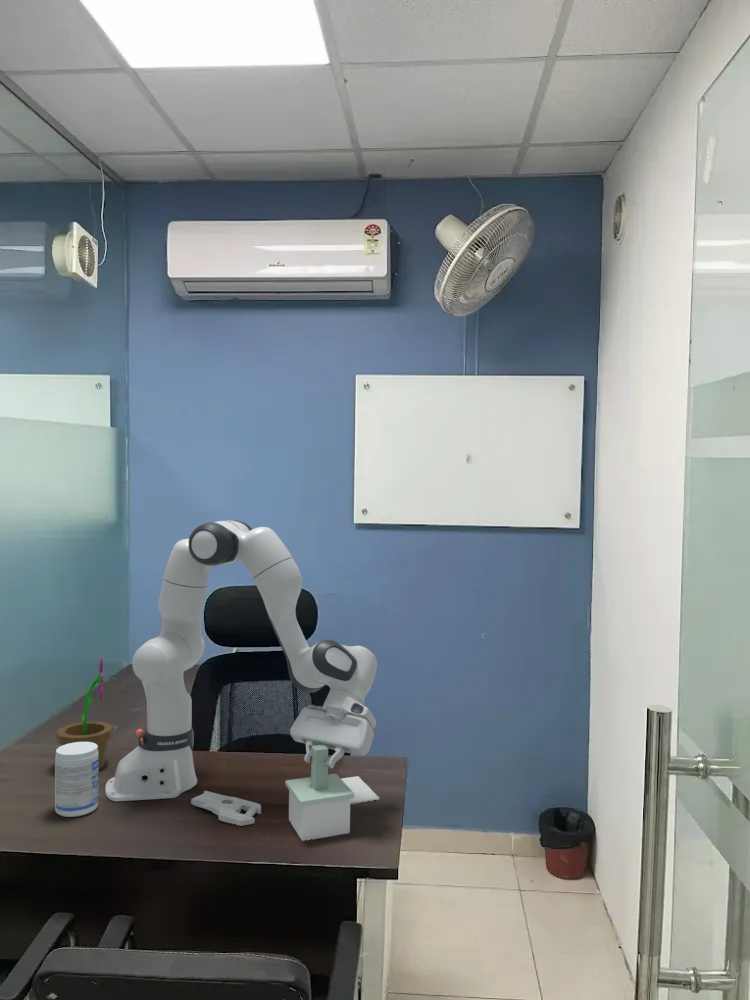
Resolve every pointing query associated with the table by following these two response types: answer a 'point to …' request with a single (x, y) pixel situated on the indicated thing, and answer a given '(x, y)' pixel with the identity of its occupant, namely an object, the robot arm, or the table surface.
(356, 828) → the table surface
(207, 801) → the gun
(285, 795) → the table surface
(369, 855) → the table surface
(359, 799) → the mat
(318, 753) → the lid
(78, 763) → the supplement tub
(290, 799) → the tub
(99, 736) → the flowerpot
